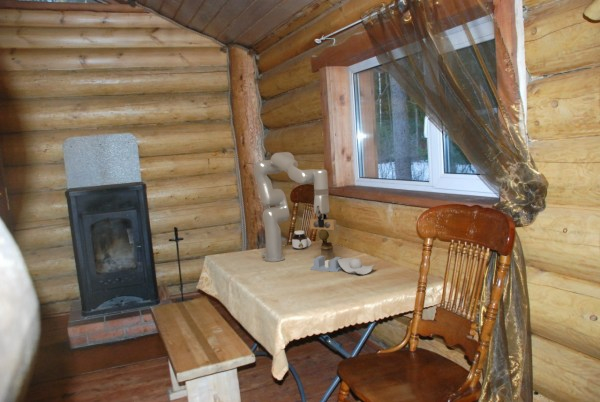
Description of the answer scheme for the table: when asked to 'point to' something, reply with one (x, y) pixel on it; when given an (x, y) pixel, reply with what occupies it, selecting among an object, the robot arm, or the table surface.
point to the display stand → (326, 264)
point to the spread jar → (300, 240)
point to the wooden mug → (326, 245)
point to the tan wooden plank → (327, 224)
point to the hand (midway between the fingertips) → (323, 226)
